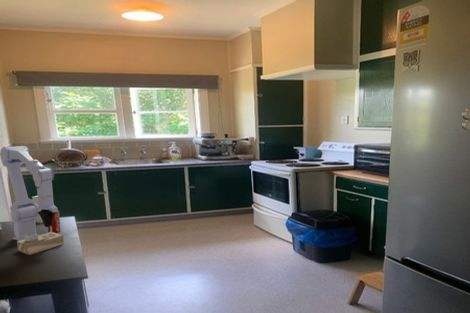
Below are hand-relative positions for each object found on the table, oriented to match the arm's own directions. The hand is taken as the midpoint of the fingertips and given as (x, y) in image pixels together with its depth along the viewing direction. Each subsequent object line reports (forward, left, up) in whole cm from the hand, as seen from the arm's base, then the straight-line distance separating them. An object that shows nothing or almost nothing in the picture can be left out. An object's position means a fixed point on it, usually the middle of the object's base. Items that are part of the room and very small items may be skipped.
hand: (48, 226), depth 137 cm
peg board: (0, -3, -8) cm, 9 cm away
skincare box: (-44, +20, -8) cm, 49 cm away
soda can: (-14, +10, -8) cm, 19 cm away
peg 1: (0, -7, -5) cm, 9 cm away
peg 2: (0, 0, -8) cm, 8 cm away
